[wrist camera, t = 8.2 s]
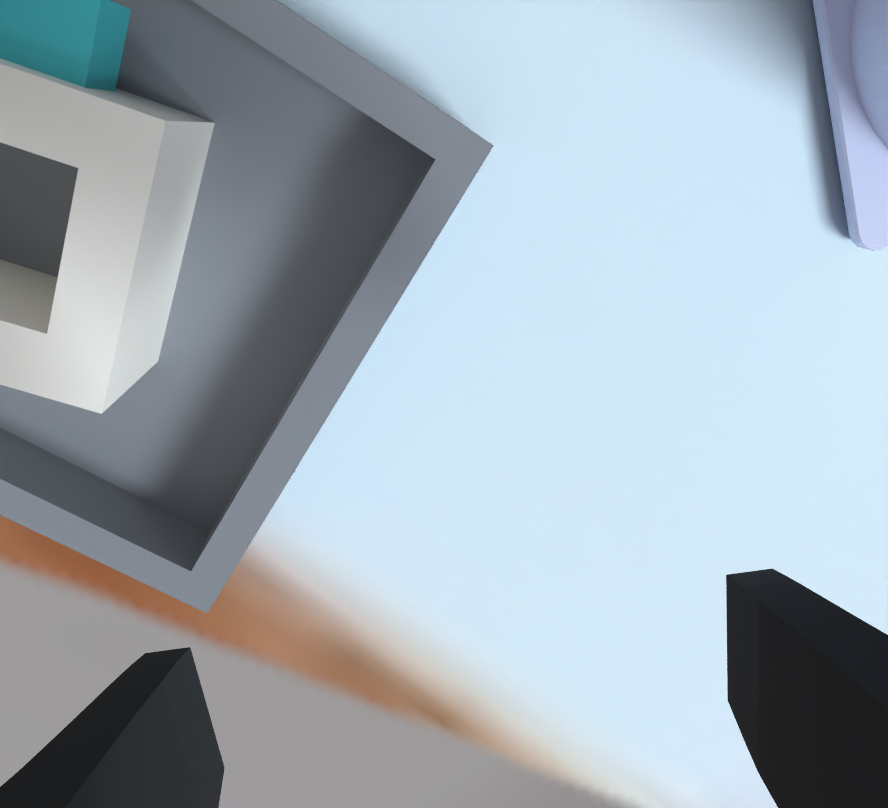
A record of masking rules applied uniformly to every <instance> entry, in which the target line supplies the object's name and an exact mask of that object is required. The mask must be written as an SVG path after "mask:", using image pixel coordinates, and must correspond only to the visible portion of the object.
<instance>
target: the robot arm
mask: <svg viewBox="0 0 888 808" xmlns="http://www.w3.org/2000/svg"><path fill="white" fill-rule="evenodd" d="M813 5H814V11H815V18H816V24H817V31H818V37H819V43H820V50H821V56H822V63H823V69H824V76H825V82H826V88H827V95H828V101H829V108H830V114H831V120H832V127H833V133H834V140H835V146H836V153H837V159H838V165H839V172H840V178H841V185H842V191H843V198H844V204H845V210H846V217H847V223H848V230H849V235H850V237H851V240H852V242H853V243H854V244H855V245H857V246H858V247H861V248H864V249H868V250H872V251H874V250H881V249H884V248H887V247H888V0H813ZM726 584H727V672H728V702H729V704H730V707H731V709H732V712H733V714H734V717H735V719H736V721H737V724H738V726H739V729H740V731H741V734H742V736H743V738H744V741H745V743H746V745H747V748H748V750H749V752H750V755H751V757H752V759H753V761H754V764H755V766H756V768H757V771H758V773H759V774H760V776H761V778H762V780H763V782H764V783H765V785H766V787H767V789H768V791H769V792H770V794H771V796H772V798H773V799H774V801H775V803H776V805H777V806H778V808H888V635H887V634H885V633H883V632H881V631H880V630H878V629H876V628H875V627H873V626H871V625H869V624H868V623H866V622H864V621H862V620H861V619H859V618H857V617H856V616H854V615H852V614H850V613H849V612H847V611H845V610H844V609H842V608H840V607H839V606H837V605H835V604H833V603H832V602H830V601H828V600H827V599H825V598H823V597H822V596H820V595H818V594H817V593H815V592H813V591H811V590H810V589H808V588H806V587H805V586H803V585H801V584H799V583H798V582H796V581H794V580H792V579H791V578H789V577H787V576H785V575H783V574H781V573H779V572H777V571H776V570H774V569H767V570H759V571H752V572H744V573H737V574H730V575H726ZM223 774H224V765H223V761H222V757H221V754H220V750H219V747H218V744H217V740H216V737H215V733H214V729H213V726H212V722H211V719H210V715H209V712H208V709H207V705H206V701H205V698H204V694H203V691H202V687H201V684H200V680H199V677H198V673H197V670H196V666H195V663H194V659H193V656H192V652H191V649H190V647H189V648H181V649H174V650H166V651H159V652H152V653H145V654H144V655H143V656H141V657H140V658H139V659H138V660H137V661H136V662H134V663H133V664H132V665H131V666H130V667H129V668H128V669H126V670H125V671H124V672H123V673H122V674H121V675H120V676H119V677H118V678H117V679H116V680H115V681H114V682H113V683H111V684H110V685H109V686H108V687H107V688H106V689H105V690H104V691H103V692H102V693H101V694H100V695H99V696H98V697H97V698H96V699H95V700H94V701H93V702H92V703H91V704H89V705H88V706H87V707H86V708H85V709H84V710H83V711H82V712H81V713H80V714H79V715H78V716H77V717H76V718H75V719H74V720H73V721H72V722H71V723H70V724H68V725H67V726H66V727H65V728H64V729H63V730H62V731H61V732H60V733H59V734H58V735H57V736H56V737H55V738H54V739H53V740H51V741H50V742H49V743H48V744H47V745H46V746H45V747H44V748H43V749H42V750H41V751H40V752H39V753H38V754H37V755H36V756H34V758H32V759H31V760H30V761H29V762H28V763H27V764H26V765H25V766H24V767H23V768H22V769H20V770H19V771H18V772H17V773H16V774H15V775H14V776H13V777H12V778H10V779H9V780H8V781H7V782H6V783H4V784H3V785H2V786H1V787H0V808H218V806H219V799H220V793H221V787H222V780H223Z"/></svg>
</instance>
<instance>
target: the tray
mask: <svg viewBox="0 0 888 808" xmlns="http://www.w3.org/2000/svg"><path fill="white" fill-rule="evenodd" d="M110 1H113V2H115V3H117V4H120V5H122V6H124V7H126V8H129V9H131V13H130V18H129V23H128V28H127V33H126V38H125V44H124V49H123V54H122V59H121V64H120V69H119V74H118V79H117V84H116V88H117V89H120V90H123V91H126V92H129V93H132V94H134V95H137V96H140V97H143V98H146V99H149V100H152V101H154V102H157V103H160V104H163V105H166V106H169V107H172V108H174V109H177V110H180V111H183V112H186V113H189V114H192V115H194V116H197V117H200V118H203V119H206V120H209V121H212V122H214V128H213V132H212V136H211V140H210V144H209V149H208V153H207V157H206V161H205V165H204V170H203V174H202V178H201V182H200V187H199V191H198V195H197V199H196V203H195V208H194V212H193V216H192V220H191V224H190V229H189V233H188V237H187V241H186V246H185V250H184V254H183V258H182V262H181V267H180V271H179V275H178V279H177V283H176V288H175V292H174V296H173V300H172V305H171V309H170V313H169V317H168V321H167V326H166V330H165V334H164V338H163V342H162V347H161V351H160V355H159V359H158V362H157V363H156V364H155V365H154V366H153V367H151V368H150V369H149V370H148V371H147V372H146V373H145V374H144V375H143V376H142V377H141V378H140V379H139V380H138V381H136V382H135V383H134V384H133V385H132V386H131V387H130V388H129V389H128V390H127V391H126V392H125V393H124V394H123V395H121V396H120V397H119V398H118V399H117V400H116V401H115V402H114V403H113V404H112V405H111V406H110V407H109V408H107V409H106V410H105V411H104V412H103V413H102V414H100V413H97V412H93V411H90V410H86V409H83V408H80V407H76V406H73V405H69V404H66V403H62V402H59V401H55V400H52V399H48V398H45V397H41V396H38V395H35V394H31V393H28V392H24V391H21V390H17V389H14V388H10V387H7V386H3V385H0V515H2V516H4V517H6V518H8V519H10V520H12V521H14V522H16V523H18V524H20V525H23V526H25V527H27V528H29V529H31V530H33V531H35V532H37V533H39V534H42V535H44V536H46V537H48V538H50V539H52V540H54V541H56V542H58V543H60V544H63V545H65V546H67V547H69V548H71V549H73V550H75V551H77V552H79V553H81V554H84V555H86V556H88V557H90V558H92V559H94V560H96V561H98V562H100V563H102V564H105V565H107V566H109V567H111V568H113V569H115V570H117V571H119V572H121V573H123V574H126V575H128V576H130V577H132V578H134V579H136V580H138V581H140V582H142V583H144V584H147V585H149V586H151V587H153V588H155V589H157V590H159V591H161V592H163V593H165V594H168V595H170V596H172V597H174V598H176V599H178V600H180V601H182V602H184V603H186V604H189V605H191V606H193V607H195V608H197V609H199V610H201V611H203V612H205V613H208V611H209V610H210V608H211V607H212V605H213V603H214V602H215V600H216V598H217V597H218V595H219V593H220V592H221V590H222V589H223V587H224V585H225V584H226V582H227V580H228V579H229V577H230V575H231V574H232V572H233V571H234V569H235V567H236V566H237V564H238V562H239V561H240V559H241V557H242V556H243V554H244V553H245V551H246V549H247V548H248V546H249V544H250V543H251V541H252V540H253V538H254V536H255V535H256V533H257V531H258V530H259V528H260V526H261V525H262V523H263V522H264V520H265V518H266V517H267V515H268V513H269V512H270V510H271V508H272V507H273V505H274V504H275V502H276V500H277V499H278V497H279V495H280V494H281V492H282V490H283V489H284V487H285V486H286V484H287V482H288V481H289V479H290V477H291V476H292V474H293V473H294V471H295V469H296V468H297V466H298V464H299V463H300V461H301V459H302V458H303V456H304V455H305V453H306V451H307V450H308V448H309V446H310V445H311V443H312V441H313V440H314V438H315V437H316V435H317V433H318V432H319V430H320V428H321V427H322V425H323V423H324V422H325V420H326V419H327V417H328V415H329V414H330V412H331V410H332V409H333V407H334V405H335V404H336V402H337V401H338V399H339V397H340V396H341V394H342V392H343V391H344V389H345V388H346V386H347V384H348V383H349V381H350V379H351V378H352V376H353V374H354V373H355V371H356V370H357V368H358V366H359V365H360V363H361V361H362V360H363V358H364V356H365V355H366V353H367V352H368V350H369V348H370V347H371V345H372V343H373V342H374V340H375V338H376V337H377V335H378V334H379V332H380V330H381V329H382V327H383V325H384V324H385V322H386V320H387V319H388V317H389V316H390V314H391V312H392V311H393V309H394V307H395V306H396V304H397V303H398V301H399V299H400V298H401V296H402V294H403V293H404V291H405V289H406V288H407V286H408V285H409V283H410V281H411V280H412V278H413V276H414V275H415V273H416V271H417V270H418V268H419V267H420V265H421V263H422V262H423V260H424V258H425V257H426V255H427V253H428V252H429V250H430V249H431V247H432V245H433V244H434V242H435V240H436V239H437V237H438V236H439V234H440V232H441V231H442V229H443V227H444V226H445V224H446V222H447V221H448V219H449V218H450V216H451V214H452V213H453V211H454V209H455V208H456V206H457V204H458V203H459V201H460V200H461V198H462V196H463V195H464V193H465V191H466V190H467V188H468V186H469V185H470V183H471V182H472V180H473V178H474V177H475V175H476V173H477V172H478V170H479V168H480V167H481V165H482V164H483V162H484V160H485V159H486V157H487V155H488V154H489V152H490V151H491V149H492V147H493V146H494V145H492V144H491V143H489V142H488V141H486V140H485V139H483V138H482V137H480V136H479V135H477V134H476V133H474V132H473V131H471V130H470V129H468V128H467V127H465V126H464V125H462V124H461V123H459V122H458V121H456V120H455V119H453V118H452V117H450V116H449V115H447V114H446V113H444V112H443V111H441V110H440V109H438V108H437V107H435V106H434V105H432V104H431V103H429V102H428V101H426V100H425V99H423V98H422V97H420V96H419V95H417V94H416V93H414V92H413V91H411V90H410V89H408V88H407V87H405V86H404V85H402V84H401V83H399V82H398V81H396V80H395V79H393V78H392V77H390V76H389V75H387V74H386V73H384V72H383V71H381V70H380V69H378V68H377V67H375V66H374V65H372V64H371V63H369V62H368V61H366V60H365V59H364V58H362V57H361V56H359V55H358V54H356V53H355V52H353V51H352V50H350V49H349V48H347V47H346V46H344V45H343V44H341V43H340V42H338V41H337V40H335V39H334V38H332V37H331V36H329V35H328V34H326V33H325V32H323V31H322V30H320V29H319V28H317V27H316V26H314V25H313V24H311V23H310V22H308V21H307V20H305V19H304V18H302V17H301V16H299V15H298V14H296V13H295V12H293V11H292V10H290V9H289V8H287V7H286V6H284V5H283V4H281V3H280V2H278V1H277V0H110ZM77 173H78V168H76V167H73V166H70V165H67V164H64V163H61V162H58V161H55V160H52V159H49V158H46V157H43V156H40V155H37V154H34V153H31V152H28V151H25V150H22V149H19V148H16V147H13V146H10V145H7V144H4V143H1V142H0V259H1V260H4V261H7V262H10V263H14V264H17V265H20V266H23V267H26V268H30V269H33V270H36V271H39V272H43V273H46V274H49V275H52V276H55V277H58V273H59V268H60V263H61V258H62V252H63V247H64V242H65V237H66V231H67V226H68V221H69V215H70V210H71V205H72V200H73V194H74V189H75V184H76V178H77Z"/></svg>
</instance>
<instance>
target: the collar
mask: <svg viewBox="0 0 888 808" xmlns="http://www.w3.org/2000/svg"><path fill="white" fill-rule="evenodd" d="M130 13H131V9H129V8H126V7H124V6H122V5H120V4H117V3H115V2H113V1H110V0H0V142H1V143H4V144H7V145H10V146H13V147H16V148H19V149H22V150H25V151H28V152H31V153H34V154H37V155H40V156H43V157H46V158H49V159H52V160H55V161H58V162H61V163H64V164H67V165H70V166H73V167H76V168H78V173H77V178H76V184H75V189H74V194H73V200H72V205H71V210H70V215H69V221H68V226H67V231H66V237H65V242H64V247H63V252H62V258H61V263H60V268H59V273H58V277H55V276H52V275H49V274H46V273H43V272H39V271H36V270H33V269H30V268H26V267H23V266H20V265H17V264H14V263H10V262H7V261H4V260H1V259H0V385H3V386H7V387H10V388H14V389H17V390H21V391H24V392H28V393H31V394H35V395H38V396H41V397H45V398H48V399H52V400H55V401H59V402H62V403H66V404H69V405H73V406H76V407H80V408H83V409H86V410H90V411H93V412H97V413H100V414H102V413H103V412H104V411H105V410H106V409H107V408H109V407H110V406H111V405H112V404H113V403H114V402H115V401H116V400H117V399H118V398H119V397H120V396H121V395H123V394H124V393H125V392H126V391H127V390H128V389H129V388H130V387H131V386H132V385H133V384H134V383H135V382H136V381H138V380H139V379H140V378H141V377H142V376H143V375H144V374H145V373H146V372H147V371H148V370H149V369H150V368H151V367H153V366H154V365H155V364H156V363H157V362H158V359H159V355H160V351H161V347H162V342H163V338H164V334H165V330H166V326H167V321H168V317H169V313H170V309H171V305H172V300H173V296H174V292H175V288H176V283H177V279H178V275H179V271H180V267H181V262H182V258H183V254H184V250H185V246H186V241H187V237H188V233H189V229H190V224H191V220H192V216H193V212H194V208H195V203H196V199H197V195H198V191H199V187H200V182H201V178H202V174H203V170H204V165H205V161H206V157H207V153H208V149H209V144H210V140H211V136H212V132H213V128H214V122H212V121H209V120H206V119H203V118H200V117H197V116H194V115H192V114H189V113H186V112H183V111H180V110H177V109H174V108H172V107H169V106H166V105H163V104H160V103H157V102H154V101H152V100H149V99H146V98H143V97H140V96H137V95H134V94H132V93H129V92H126V91H123V90H120V89H117V88H116V84H117V79H118V74H119V69H120V64H121V59H122V54H123V49H124V44H125V38H126V33H127V28H128V23H129V18H130Z"/></svg>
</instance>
